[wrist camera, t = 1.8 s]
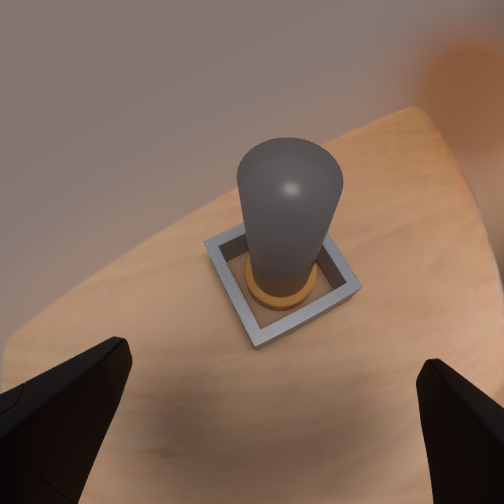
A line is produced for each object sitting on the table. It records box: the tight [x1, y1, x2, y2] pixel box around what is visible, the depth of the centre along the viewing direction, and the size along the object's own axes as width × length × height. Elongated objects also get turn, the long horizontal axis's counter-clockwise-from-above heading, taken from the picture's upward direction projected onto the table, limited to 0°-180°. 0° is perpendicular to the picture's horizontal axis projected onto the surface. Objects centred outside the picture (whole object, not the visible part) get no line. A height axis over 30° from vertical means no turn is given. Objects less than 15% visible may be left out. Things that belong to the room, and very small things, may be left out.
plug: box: [237, 138, 343, 311], centre depth 16 cm, size 5×5×12 cm
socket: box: [204, 223, 362, 350], centre depth 20 cm, size 8×8×3 cm
